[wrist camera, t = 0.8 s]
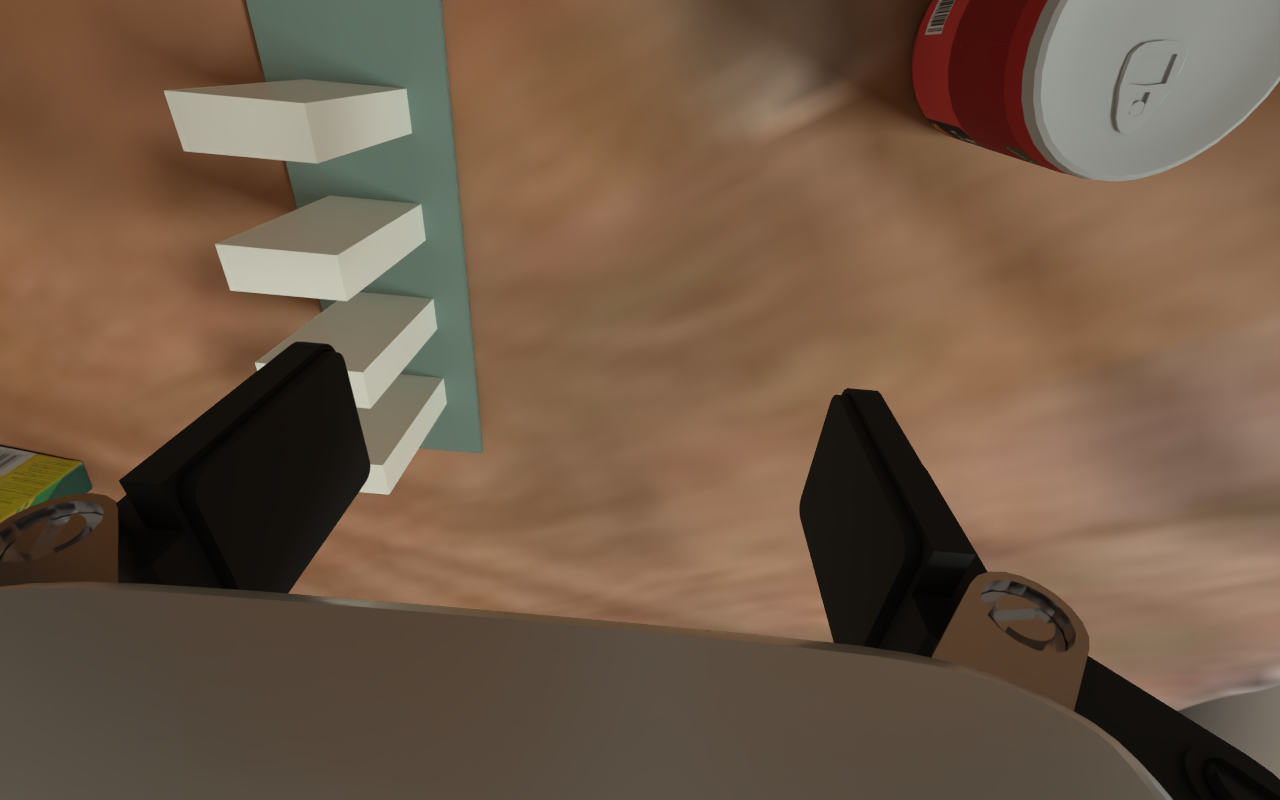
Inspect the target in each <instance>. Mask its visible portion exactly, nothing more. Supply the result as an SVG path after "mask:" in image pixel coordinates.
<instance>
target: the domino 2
mask: <svg viewBox="0 0 1280 800" xmlns="http://www.w3.org/2000/svg"><path fill="white" fill-rule="evenodd" d="M424 241H426V238H425V230H424V222H423V214H422V206H421V204H418V203H407V202H396V201H385V200H374V199H364V198H353V197H342V196H331V195H329V196H327V197H325V198H322V199H320V200H318V201H315V202H313V203H311V204H308V205H306V206H303V207H301V208H299V209H296V210H294V211H292V212H289V213H287V214H285V215H282V216H280V217H278V218H275V219H273V220H270V221H268V222H266V223H263V224H261V225H259V226H256V227H254V228H252V229H249V230H247V231H245V232H242V233H240V234H237V235H235V236H233V237H230V238H228V239H226V240H223V241H221V242H219V243H216V244H215V246H216V249H217V252H218V255H219V258H220V261H221V264H222V267H223V270H224V273H225V276H226V279H227V282H228V285H229V288H230V291H241V292H251V293H262V294H273V295H284V296H295V297H306V298H317V299H327V300H338V301H348V300H349V299H351V298H352V297H353V296H355V295H356V294H357V293H359V292H360V291H361V290H362V289H364V288H365V287H366V286H368V285H369V284H370V283H371V282H373V281H374V280H375V279H377V278H378V277H379V276H380V275H382V274H383V273H384V272H386V271H387V270H388V269H390V268H391V267H392V266H393V265H395V264H396V263H397V262H399V261H400V260H401V259H402V258H404V257H405V256H406V255H408V254H409V253H410V252H411V251H413V250H414V249H415V248H417V247H418V246H419V245H421V244H422V243H423V242H424Z"/></svg>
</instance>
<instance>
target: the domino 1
mask: <svg viewBox="0 0 1280 800" xmlns="http://www.w3.org/2000/svg"><path fill="white" fill-rule="evenodd" d="M164 93H165V96H166V99H167V102H168V105H169V108H170V111H171V114H172V117H173V120H174V123H175V126H176V129H177V132H178V135H179V138H180V141H181V144H182V147H183V150H184V151H187V152H197V153H208V154H219V155H230V156H241V157H251V158H262V159H273V160H284V161H295V162H305V163H316V164H317V163H321V162H324V161H327V160H330V159H333V158H336V157H339V156H343V155H346V154H349V153H352V152H355V151H358V150H361V149H364V148H368V147H371V146H374V145H377V144H380V143H383V142H386V141H389V140H393V139H396V138H399V137H402V136H405V135H408V134H411V133H412V129H411V121H410V113H409V105H408V98H407V90H406V89H405V88H395V87H384V86H373V85H362V84H351V83H341V82H330V81H319V80H308V79H301V80H288V81H275V82H263V83H250V84H237V85H224V86H212V87H199V88H186V89H173V90H164Z"/></svg>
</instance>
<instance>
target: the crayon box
mask: <svg viewBox="0 0 1280 800" xmlns="http://www.w3.org/2000/svg"><path fill="white" fill-rule="evenodd" d="M91 489H92V485H91V482H90V480H89V477H88V475H87V472H86V469H85V467H84V465H83V462H82V461H77V460H66V459H61V458H57V457H52V456H47V455H42V454H37V453H32V452H27V451H22V450H16V449H11V448H6V447H1V446H0V523H1V522H2V521H4V520H5V519H7V518H9V517H10V516H12V515H14V514H16V513H18V512H20V511H22V510H24V509H27V508H29V507H31V506H33V505H36V504H39V503H42V502H45V501H48V500H51V499H54V498H59V497H63V496H68V495H73V494H86V493H87V492H89V491H90V490H91Z"/></svg>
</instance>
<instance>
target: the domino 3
mask: <svg viewBox="0 0 1280 800" xmlns="http://www.w3.org/2000/svg"><path fill="white" fill-rule="evenodd" d="M436 330H437V323H436V315H435V308H434V300H433V299H432V298H421V297H410V296H399V295H389V294H378V293H367V292H359V293H357V294H356V295H355V296H353V297H352V298H351V299H349V300H348V301H338V300H337V301H336V302H335V303H333V304H332V305H331V306H329V307H328V308H327V309H325V310H324V311H323V312H321V313H320V314H319V315H317V316H316V317H315V318H313V319H312V320H311V321H309V322H308V323H307V324H305V325H304V326H303V327H301V328H300V329H299V330H297V331H296V332H295V333H293V334H292V335H291V336H289V337H288V338H286V339H285V340H284V341H282V342H281V343H280V344H278V345H277V346H276V347H274V348H273V349H272V350H270V351H269V352H268V353H266V354H265V355H264V356H262V357H261V358H260V359H258V360H257V361H256V362H254V363H255V366H256V369H257V371H258V370H259V369H261V368H262V367H263V366H264V365H266V364H267V363H268V362H269V361H271V360H272V359H273V358H274V357H276V356H277V355H278V354H279V353H281V352H282V351H283V350H284V349H286V348H287V347H288V346H290V345H291V344H292V343H294V342H312V343H324V344H329V345H331V346H332V347H333V348H334V349H335V351H336V352H339V353H341V354H342V356H343V357H344V360H345V363H346V367H347V371H348V375H349V379H350V383H351V387H352V391H353V395H354V399H355V403H356V407H358V408H369V409H371V407H372V406H373V405H374V404H375V403H376V401H377V400H378V399H379V398H380V397H381V396H382V394H383V393H384V392H385V391H386V390H387V388H388V387H389V386H390V385H391V384H392V382H393V381H394V380H395V379H396V378H397V376H398V375H399V374H400V373H401V372H402V370H403V369H404V368H405V367H406V366H407V365H408V363H409V362H410V361H411V360H412V359H413V357H414V356H415V355H416V354H417V353H418V351H419V350H420V349H421V348H422V347H423V345H424V344H425V343H426V342H427V341H428V340H429V338H430V337H431V336H432V335H433V334H434V332H435V331H436Z"/></svg>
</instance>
